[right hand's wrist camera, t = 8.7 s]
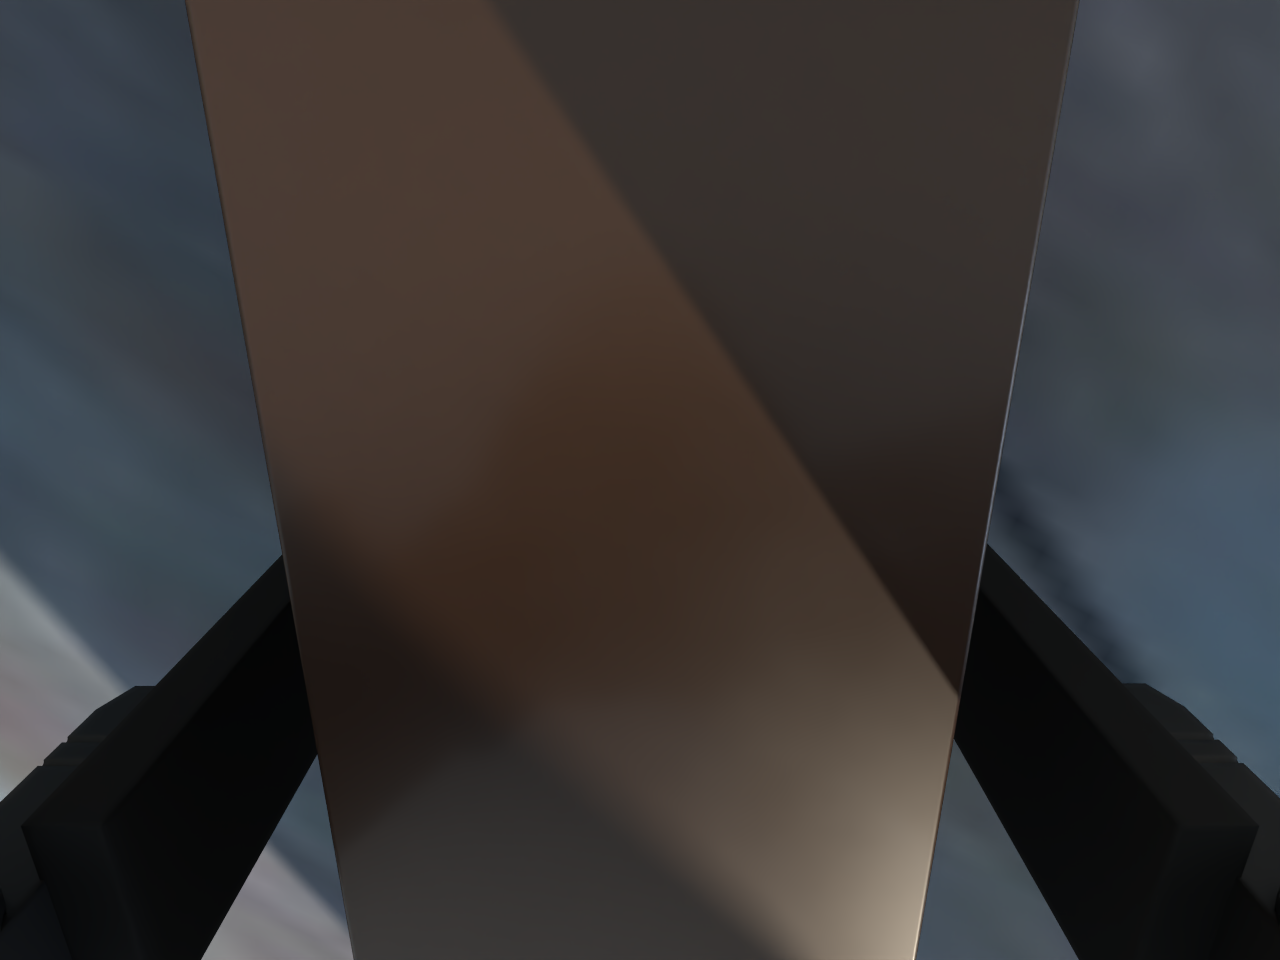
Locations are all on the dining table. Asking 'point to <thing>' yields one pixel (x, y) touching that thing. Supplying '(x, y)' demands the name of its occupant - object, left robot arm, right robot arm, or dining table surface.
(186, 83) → the dining table surface
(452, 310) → the walnut beam
